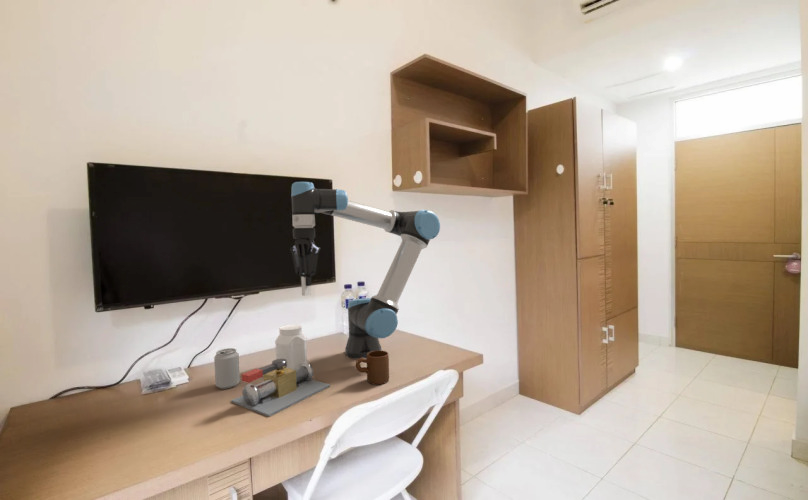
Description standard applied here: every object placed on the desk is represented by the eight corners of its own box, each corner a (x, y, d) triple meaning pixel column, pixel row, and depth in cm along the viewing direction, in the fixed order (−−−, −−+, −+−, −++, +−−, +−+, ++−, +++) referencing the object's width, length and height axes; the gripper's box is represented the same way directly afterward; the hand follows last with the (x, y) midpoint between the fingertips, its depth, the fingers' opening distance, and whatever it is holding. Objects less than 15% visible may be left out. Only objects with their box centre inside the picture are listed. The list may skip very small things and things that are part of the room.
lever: (279, 363, 125) (279, 357, 125) (289, 365, 123) (289, 359, 122) (240, 380, 111) (239, 373, 111) (250, 383, 109) (250, 376, 109)
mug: (361, 390, 123) (360, 361, 123) (351, 382, 130) (350, 355, 129) (393, 381, 129) (392, 354, 129) (382, 374, 136) (382, 348, 135)
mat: (293, 375, 137) (293, 374, 137) (330, 386, 127) (330, 384, 127) (231, 402, 117) (231, 400, 117) (269, 416, 107) (268, 414, 107)
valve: (300, 379, 133) (299, 356, 133) (314, 383, 130) (313, 359, 129) (242, 404, 115) (241, 377, 114) (257, 410, 111) (255, 382, 110)
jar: (282, 372, 140) (281, 332, 139) (272, 366, 147) (270, 327, 146) (311, 364, 147) (310, 326, 147) (300, 358, 155) (299, 322, 154)
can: (212, 385, 129) (210, 351, 129) (234, 379, 135) (232, 345, 134) (221, 391, 124) (219, 355, 124) (243, 384, 130) (242, 349, 129)
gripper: (282, 227, 133) (285, 295, 134) (308, 227, 125) (311, 298, 127) (299, 227, 139) (301, 292, 140) (325, 226, 132) (327, 294, 133)
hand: (306, 294), depth 133 cm, fingers closed
